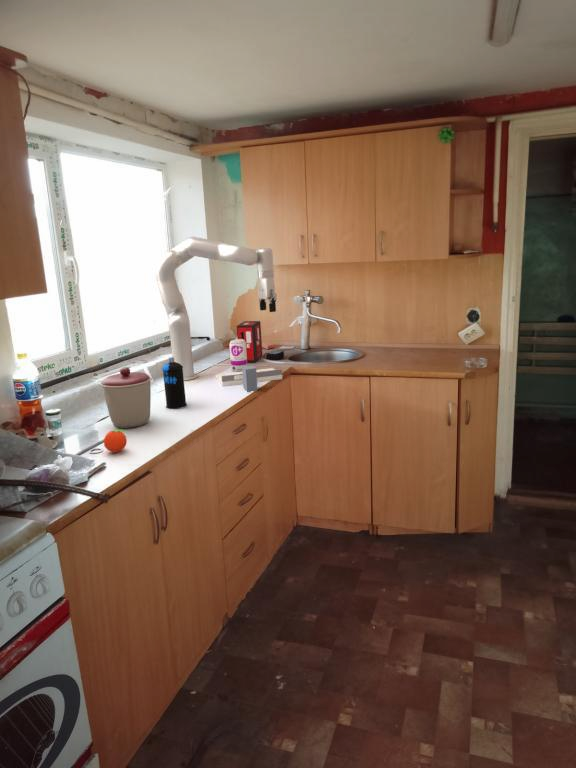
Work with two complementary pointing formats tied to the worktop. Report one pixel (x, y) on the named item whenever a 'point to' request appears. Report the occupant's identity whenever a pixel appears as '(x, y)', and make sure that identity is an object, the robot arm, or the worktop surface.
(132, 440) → the worktop surface
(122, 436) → the clementine
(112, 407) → the canister
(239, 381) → the shelf board
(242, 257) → the robot arm
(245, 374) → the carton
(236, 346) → the supplement can
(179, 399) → the aerosol can
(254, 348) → the cleaning product box
